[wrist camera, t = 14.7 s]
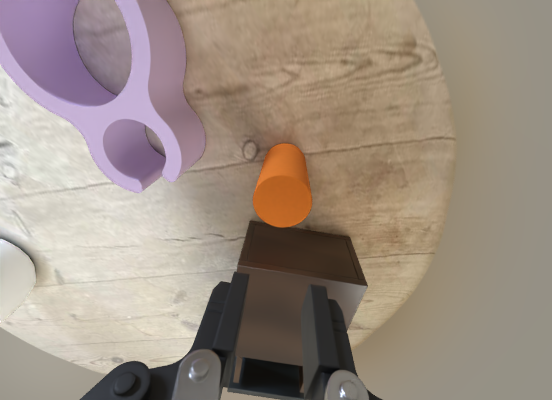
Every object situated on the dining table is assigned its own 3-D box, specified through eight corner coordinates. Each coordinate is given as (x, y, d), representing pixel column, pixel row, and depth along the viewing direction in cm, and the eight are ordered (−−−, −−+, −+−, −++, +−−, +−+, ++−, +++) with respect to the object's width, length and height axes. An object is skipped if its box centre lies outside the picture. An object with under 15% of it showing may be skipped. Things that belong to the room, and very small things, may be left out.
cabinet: (321, 313, 40) (328, 370, 32) (239, 300, 39) (226, 354, 32) (349, 236, 33) (368, 286, 25) (250, 220, 32) (237, 264, 25)
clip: (231, 148, 28) (215, 168, 22) (141, 178, 30) (103, 204, 24) (133, -84, 20) (61, -157, 14) (19, -17, 22) (-86, -53, 16)
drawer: (302, 362, 44) (303, 407, 38) (235, 352, 44) (226, 395, 38) (323, 304, 37) (329, 348, 31) (244, 291, 37) (235, 333, 31)
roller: (300, 185, 30) (305, 232, 21) (261, 178, 29) (249, 222, 21) (309, 147, 27) (318, 180, 19) (267, 139, 27) (256, 170, 18)
